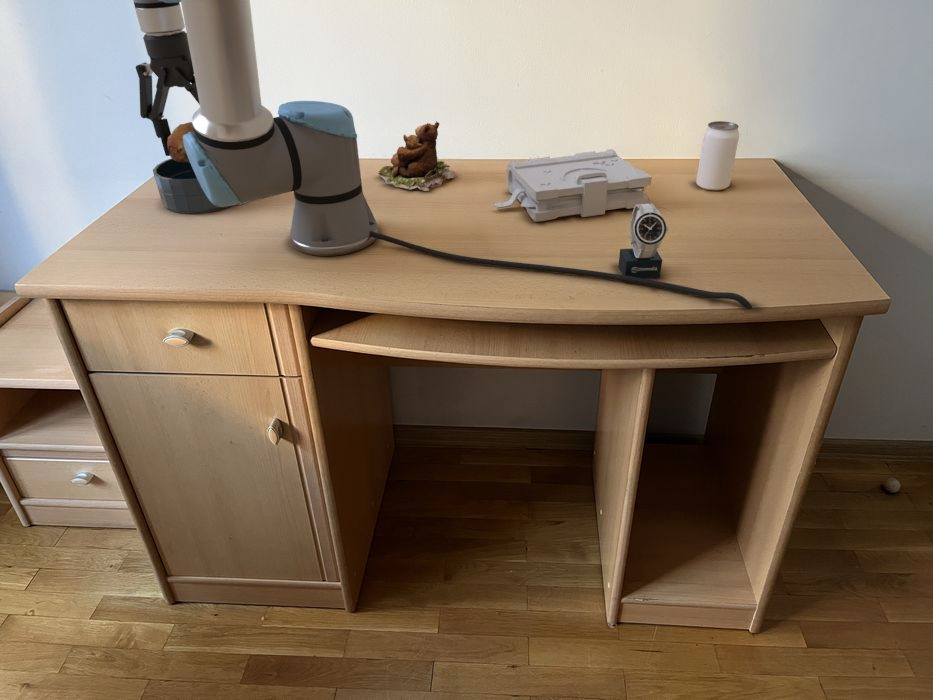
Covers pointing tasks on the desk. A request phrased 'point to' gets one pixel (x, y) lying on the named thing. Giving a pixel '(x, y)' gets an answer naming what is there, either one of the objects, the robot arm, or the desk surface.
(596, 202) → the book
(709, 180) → the can
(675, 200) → the desk surface
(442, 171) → the bear figurine
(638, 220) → the watch
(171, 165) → the dark blue bowl
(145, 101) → the robot arm
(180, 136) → the bread roll
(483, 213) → the desk surface
